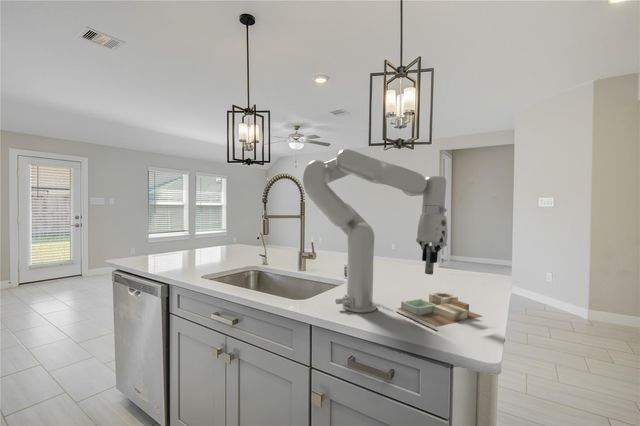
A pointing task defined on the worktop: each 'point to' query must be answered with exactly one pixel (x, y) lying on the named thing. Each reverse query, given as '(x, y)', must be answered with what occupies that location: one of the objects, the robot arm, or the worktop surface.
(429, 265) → the dowel
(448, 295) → the holder
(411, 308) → the tray
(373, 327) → the worktop surface
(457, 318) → the beige cardboard box
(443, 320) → the board
